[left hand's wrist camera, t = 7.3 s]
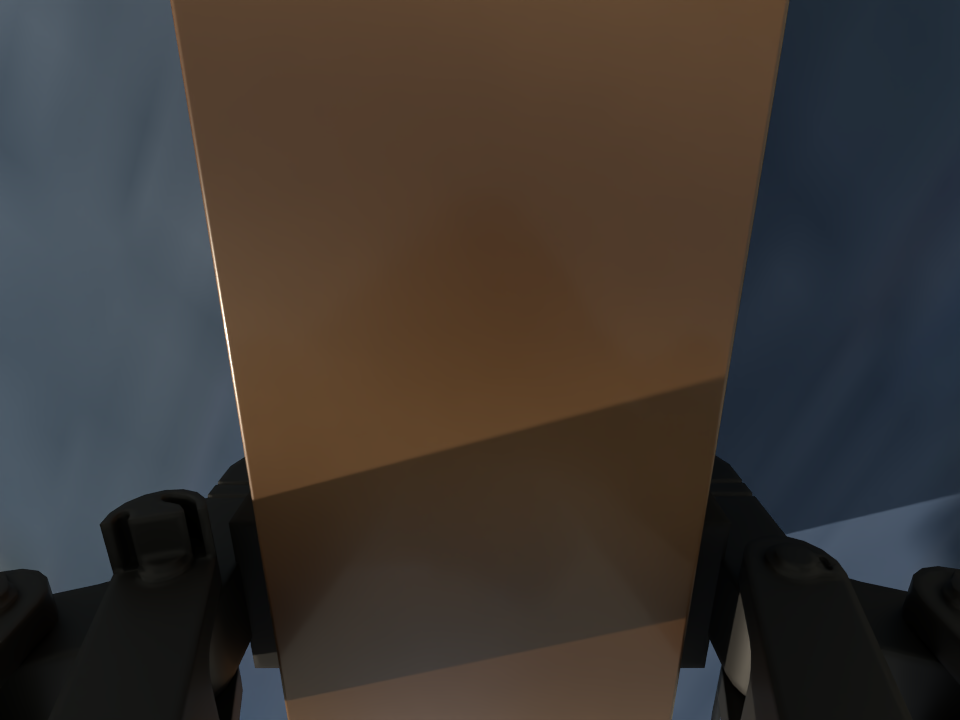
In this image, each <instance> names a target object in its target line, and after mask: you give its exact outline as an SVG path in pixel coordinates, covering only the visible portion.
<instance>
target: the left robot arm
mask: <svg viewBox="0 0 960 720" xmlns="http://www.w3.org/2000/svg"><path fill="white" fill-rule="evenodd" d="M100 527H101V531H102V534H103V538H104V542H105V545H106V549H107V552H108V556H109V560H110V563H111V567H112V570H113V576H112V579H111V581H109V582H105V583H102V584H98V585H93V586H88V587H84V588H79V589H74V590H70V591H65V592H60V593H56V594H52V591H51V588H50V585H49V582H48V579H47V577H46V576H44V575H43V574H42V573H40V572H39V571H36V570H28V569H18V570H11V571H4V572H0V720H239V718H240V709H241V700H242V692H243V689H242V682H241V676H240V671H239V664H240V662H241V660H242V658H243V656H244V654H245V651H246V649H247V647H248V645H249V643H250V642H251V648H252V653H253V659H254V664H255V668H279V662H278V656H277V650H276V643H275V637H274V631H273V625H272V619H271V613H270V607H269V601H268V595H267V588H266V582H265V576H264V570H263V564H262V558H261V552H260V546H259V540H258V533H257V527H256V521H255V515H254V509H253V503H252V497H251V491H250V484H249V478H248V472H247V466H246V460H245V457H244V458H243V459H241V460H239V461H238V462H236V463H235V464H233V465H232V466H230V468H229V469H228V470H227V471H226V473H225V474H224V475H223V476H222V478H221V479H220V480H219V481H218V485H215V487H214V488H213V489H212V490H211V492H210V493H209V494H208V498H204V497H203V496H201V495H200V494H199V493H198V492H194V491H189V490H184V489H179V490H164V491H159V492H155V493H151V494H146V495H143V496H141V497H138V498H136V499H133V500H131V501H129V502H126V503H124V504H123V505H121V506H120V507H118V508H117V509H115V510H114V511H112V512H111V513H109V514H108V516H107V517H106V518H105V519H104V520H103V521H102V522H101V524H100ZM709 640H710V641H711V643H712V645H713V647H714V649H715V651H716V654H717V656H718V658H719V660H720V662H721V664H722V665H721V671H720V676H719V681H718V686H717V691H716V696H715V701H714V706H713V711H712V717H711V720H720V716H721V720H960V569H954V568H947V567H940V566H936V567H928V568H922V569H920V570H919V571H918V572H916V573H915V574H914V575H913V577H912V580H911V583H910V586H909V589H908V592H907V591H902V590H897V589H893V588H888V587H883V586H879V585H874V584H869V583H864V582H860V581H856V580H853V579H849V578H848V575H847V573H846V572H845V571H844V569H843V568H842V567H841V565H840V564H839V563H838V561H837V560H835V559H834V558H833V557H831V556H830V555H829V554H827V553H826V552H825V551H823V550H822V549H820V548H818V547H816V546H813V545H811V544H809V543H807V542H805V541H802V540H798V539H794V538H791V537H787V536H786V535H785V534H784V532H783V531H782V530H781V529H780V527H779V526H778V525H777V524H776V522H775V521H774V520H773V519H772V517H771V516H770V515H769V514H768V512H767V511H766V510H765V509H764V507H763V506H762V505H761V503H760V502H759V501H758V500H757V498H756V497H755V496H752V492H751V491H750V490H749V488H748V487H747V486H746V485H745V483H742V480H741V478H740V477H739V476H738V475H737V473H736V472H735V471H734V469H733V468H732V467H731V466H730V464H728V463H727V462H725V461H723V460H722V459H720V458H719V457H717V456H716V455H715V458H714V464H713V470H712V477H711V483H710V489H709V495H708V501H707V507H706V513H705V519H704V525H703V531H702V538H701V544H700V550H699V556H698V562H697V568H696V574H695V580H694V586H693V593H692V599H691V605H690V611H689V617H688V623H687V629H686V635H685V641H684V647H683V654H682V660H681V666H680V668H705V662H706V657H707V651H708V646H709Z"/></svg>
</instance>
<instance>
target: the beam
mask: <svg viewBox="0 0 960 720" xmlns="http://www.w3.org/2000/svg"><path fill="white" fill-rule="evenodd" d="M170 1H171V8H172V14H173V20H174V26H175V32H176V38H177V44H178V50H179V56H180V63H181V69H182V75H183V81H184V87H185V93H186V99H187V105H188V112H189V118H190V124H191V130H192V136H193V142H194V148H195V154H196V160H197V167H198V173H199V179H200V185H201V191H202V197H203V203H204V209H205V215H206V222H207V228H208V234H209V240H210V246H211V252H212V258H213V264H214V270H215V277H216V283H217V289H218V295H219V301H220V307H221V313H222V319H223V326H224V332H225V338H226V344H227V350H228V356H229V362H230V368H231V374H232V381H233V387H234V393H235V399H236V405H237V411H238V417H239V423H240V429H241V436H242V442H243V448H244V454H245V460H246V466H247V472H248V478H249V484H250V491H251V497H252V503H253V509H254V515H255V521H256V527H257V533H258V540H259V546H260V552H261V558H262V564H263V570H264V576H265V582H266V588H267V595H268V601H269V607H270V613H271V619H272V625H273V631H274V637H275V643H276V650H277V656H278V662H279V668H280V674H281V680H282V686H283V692H284V699H285V705H286V711H287V717H288V720H672V715H673V709H674V702H675V696H676V690H677V684H678V678H679V672H680V666H681V660H682V654H683V647H684V641H685V635H686V629H687V623H688V617H689V611H690V605H691V599H692V593H693V586H694V580H695V574H696V568H697V562H698V556H699V550H700V544H701V538H702V531H703V525H704V519H705V513H706V507H707V501H708V495H709V489H710V483H711V477H712V470H713V464H714V458H715V452H716V446H717V440H718V434H719V428H720V422H721V415H722V409H723V403H724V397H725V391H726V385H727V379H728V373H729V367H730V360H731V354H732V348H733V342H734V336H735V330H736V324H737V318H738V312H739V306H740V299H741V293H742V287H743V281H744V275H745V269H746V263H747V257H748V251H749V244H750V238H751V232H752V226H753V220H754V214H755V208H756V202H757V196H758V190H759V183H760V177H761V171H762V165H763V159H764V153H765V147H766V141H767V135H768V128H769V122H770V116H771V110H772V104H773V98H774V92H775V86H776V80H777V74H778V67H779V61H780V55H781V49H782V43H783V37H784V31H785V25H786V19H787V12H788V6H789V0H170Z"/></svg>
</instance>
